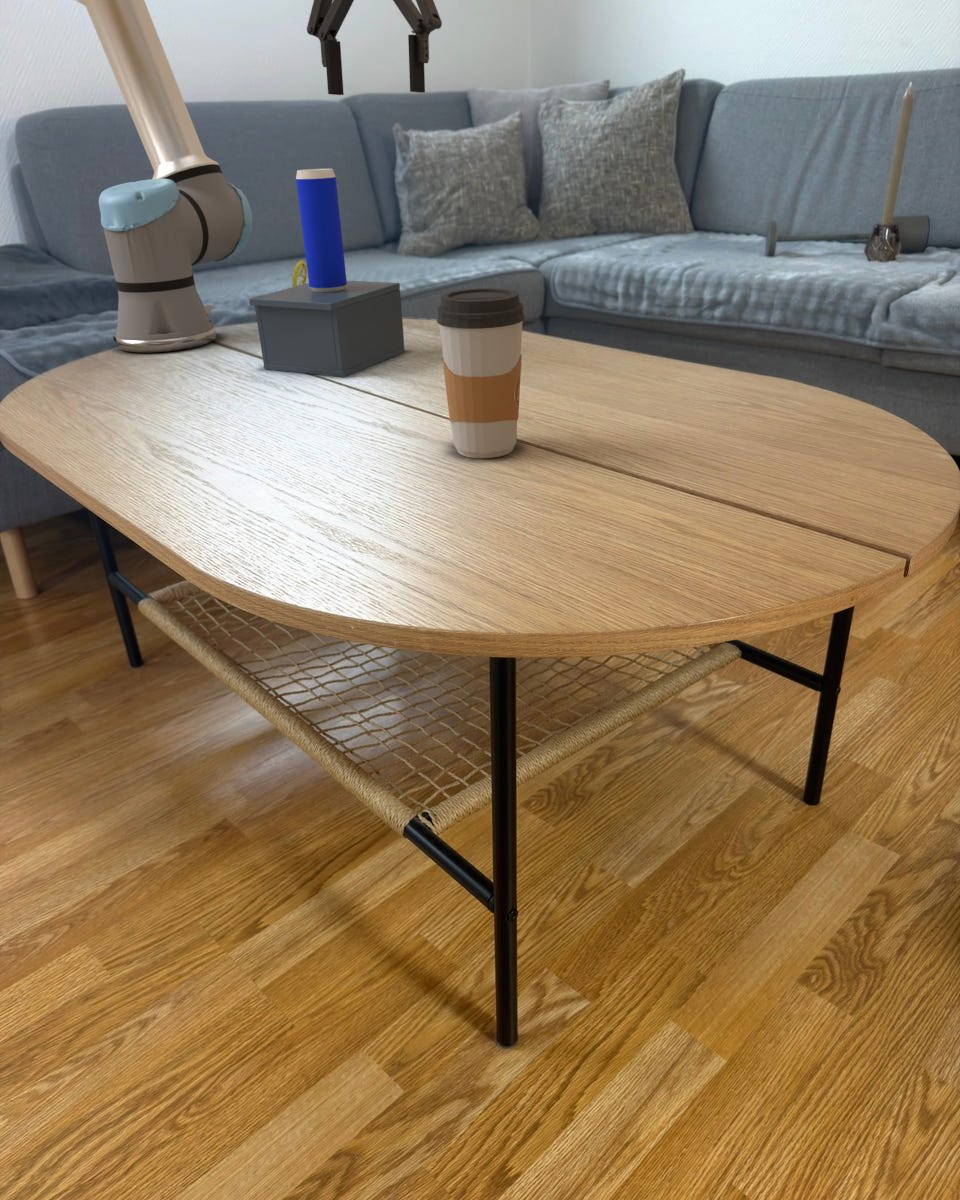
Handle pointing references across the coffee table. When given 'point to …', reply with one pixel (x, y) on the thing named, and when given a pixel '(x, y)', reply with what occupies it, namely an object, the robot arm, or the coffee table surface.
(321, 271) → the beverage can
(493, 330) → the coffee cup
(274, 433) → the coffee table surface
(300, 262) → the yellow spoked ring
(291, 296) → the lid
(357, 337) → the chest
